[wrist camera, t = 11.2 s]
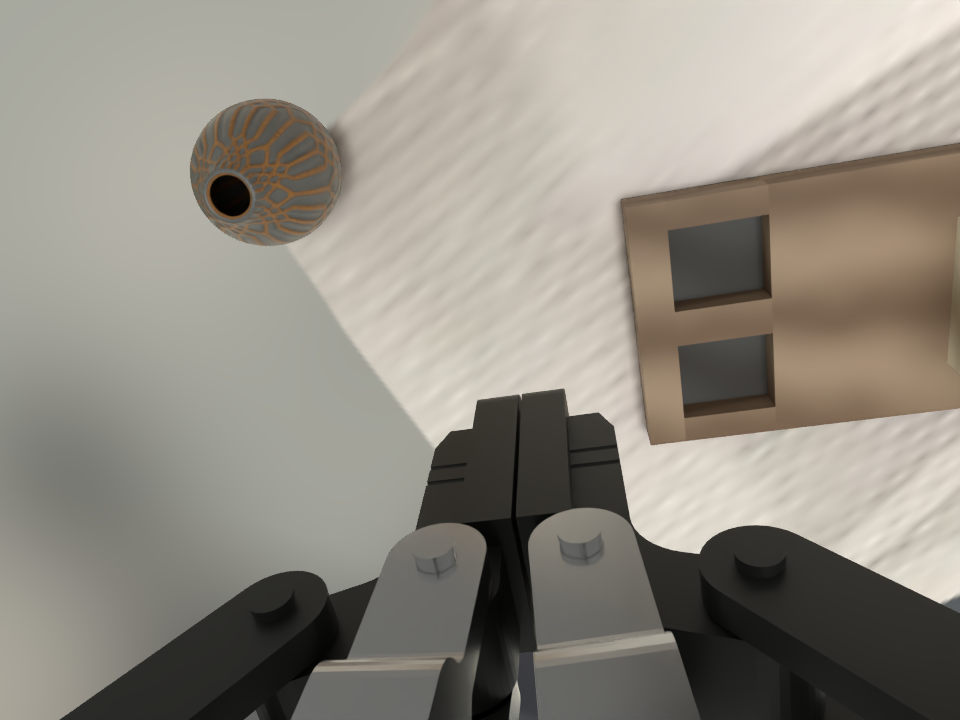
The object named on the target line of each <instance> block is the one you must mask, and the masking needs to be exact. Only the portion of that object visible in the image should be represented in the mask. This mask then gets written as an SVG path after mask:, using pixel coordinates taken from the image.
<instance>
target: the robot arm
mask: <svg viewBox="0 0 960 720" xmlns="http://www.w3.org/2000/svg"><path fill="white" fill-rule="evenodd" d="M427 482H428V486H426V490H425V493H424V497H423V502H422V506H421V510H420V514H419V518H418V522H417V526H416V530H415V531H414V532H412V533H410V534H409V535H407V536H405V537H404V538H402V539H401V540H400V541H399V542H398V543H397V544H396V545H395V546H394V547H393V548H392V549H391V551H390V552H389V554H388V556H387V558H386V560H385V563H384V566H383V568H382V571H381V573H380V576H379V577H378V578H376V579H374V580H372V581H369V582H367V583H364V584H361V585H358V586H355V587H352V588H349V589H346V590H343V591H340V592H337V593H334V594H331V595H329V593H328V590H327V587H326V584H325V582H324V581H323V580H322V579H321V578H320V577H318V576H317V575H315V574H313V573H309V572H305V571H291V572H290V571H289V572H284V573H279V574H275V575H272V576H270V577H267V578H264V579H262V580H260V581H258V582H256V583H254V584H253V585H251V586H250V587H248V588H246V589H245V590H244V591H242V592H241V593H239V594H238V595H236V596H235V597H234V598H233V599H231V600H229V601H228V602H227V603H225V604H224V605H222V606H221V607H219V608H218V609H217V610H215V611H214V612H212V613H211V614H209V615H208V616H207V617H205V618H204V619H202V620H201V621H200V622H198V623H197V624H195V625H194V626H192V627H191V628H190V629H188V630H187V631H185V632H184V633H182V634H181V635H180V636H178V637H177V638H175V639H174V640H172V641H171V642H170V643H168V644H167V645H165V646H164V647H163V648H161V649H160V650H158V651H157V652H155V653H154V654H153V655H151V656H150V657H148V658H147V659H146V660H144V661H143V662H141V663H140V664H138V665H137V666H135V667H134V668H133V669H131V670H130V671H128V672H127V673H126V674H124V675H123V676H121V677H120V678H118V679H117V680H116V681H114V682H113V683H112V684H110V685H108V686H107V687H106V688H104V689H103V690H101V691H100V692H98V693H97V694H96V695H94V696H93V697H92V698H90V699H89V700H87V701H86V702H84V703H83V704H81V705H80V706H79V707H77V708H76V709H74V710H73V711H72V712H70V713H69V714H67V715H66V716H64V717H63V718H62V719H60V720H244V719H245V718H246V717H248V716H249V715H250V714H251V713H252V712H254V711H255V710H256V712H257V715H258V717H259V719H260V720H518V717H519V709H520V693H519V688H518V684H517V678H518V671H519V653H522V652H534V670H535V682H536V694H537V706H538V718H539V720H960V613H958V612H956V611H954V610H952V609H950V608H948V607H946V606H944V605H941V604H939V603H937V602H935V601H933V600H931V599H929V598H927V597H925V596H923V595H921V594H919V593H917V592H915V591H913V590H911V589H908V588H906V587H904V586H902V585H900V584H898V583H896V582H894V581H892V580H890V579H888V578H886V577H884V576H882V575H880V574H878V573H875V572H873V571H871V570H869V569H867V568H865V567H863V566H861V565H859V564H857V563H855V562H853V561H851V560H849V559H847V558H845V557H842V556H840V555H838V554H836V553H834V552H832V551H830V550H828V549H826V548H824V547H822V546H820V545H818V544H816V543H814V542H812V541H809V540H807V539H805V538H803V537H801V536H799V535H797V534H795V533H792V532H790V531H787V530H784V529H780V528H776V527H770V526H759V525H754V526H741V527H736V528H732V529H728V530H726V531H723V532H721V533H719V534H717V535H715V536H714V537H712V538H711V539H710V540H709V541H707V542H706V544H705V545H704V546H703V548H702V550H701V552H700V554H694V553H686V552H679V551H673V550H669V549H666V548H662V547H660V546H657V545H655V544H653V543H651V542H649V541H648V540H646V539H645V538H643V537H642V536H641V535H640V534H639V533H638V532H637V531H636V530H635V529H634V527H633V525H632V523H631V520H630V516H629V510H628V504H627V499H626V493H625V487H624V482H623V476H622V470H621V465H620V459H619V453H618V448H617V442H616V436H615V430H614V426H613V425H612V424H610V423H609V422H608V421H607V420H606V419H605V418H604V417H603V416H602V415H601V414H600V413H592V414H584V415H576V416H569V413H568V407H567V401H566V395H565V390H564V389H557V390H549V391H541V392H534V393H526V394H522V401H521V397H520V395H512V396H505V397H497V398H490V399H482V400H478V401H477V405H476V411H475V417H474V423H473V429H467V430H459V431H451V432H450V433H449V434H448V435H447V436H446V438H445V439H444V440H443V441H442V442H441V443H440V444H439V445H438V446H437V448H436V449H435V452H434V456H433V460H432V465H431V471H430V473H429V477H428V481H427Z"/></svg>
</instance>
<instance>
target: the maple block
mask: <svg viewBox="0 0 960 720" xmlns="http://www.w3.org/2000/svg"><path fill="white" fill-rule="evenodd" d="M947 364H948V365H950V366H951V367H952V368H953V369H954V370H955V371H957V372H958V373H959V374H960V217H958V220H957V233H956V247H955V261H954V275H953V288H952V302H951V316H950V330H949V343H948V357H947Z"/></svg>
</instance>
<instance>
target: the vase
mask: <svg viewBox="0 0 960 720" xmlns="http://www.w3.org/2000/svg"><path fill="white" fill-rule="evenodd" d="M190 178H191V184H192V189H193V192H194V195H195V198H196V200H197V202H198V204H199V206H200V208H201V210H202V211H203V213H204V214H205V215H206V217H207V218H208V219H209V220H210V221H211V222H212V223H213V224H214V225H215V226H216V227H217V228H218V229H220V230H221V231H222V232H224V233H225V234H227V235H229V236H231V237H233V238H235V239H237V240H239V241H242V242H245V243H249V244H254V245H261V246H273V245H282V244H287V243H290V242H294V241H296V240H299V239H301V238H303V237H305V236H306V235H308V234H310V233H311V232H312V231H314V230H315V229H316V228H317V227H318V226H319V225H320V224H321V223H322V222H323V221H324V220H325V219H326V218H327V216H328V215H329V214H330V212H331V210H332V209H333V207H334V205H335V203H336V201H337V198H338V195H339V192H340V187H341V179H342V169H341V161H340V157H339V153H338V150H337V148H336V145H335V143H334V141H333V139H332V137H331V136H330V134H329V133H328V131H327V130H326V128H325V127H324V126H323V125H322V124H321V123H320V122H319V121H318V120H317V119H316V118H315V117H314V116H313V115H311V114H310V113H308V112H307V111H305V110H304V109H302V108H300V107H298V106H296V105H293V104H291V103H288V102H285V101H281V100H276V99H255V100H249V101H245V102H241V103H238V104H235V105H233V106H230V107H228V108H226V109H225V110H223V111H222V112H220V113H219V114H217V115H216V116H215V117H214V118H213V119H212V120H211V121H210V122H209V123H208V124H207V125H206V127H205V128H204V129H203V131H202V132H201V134H200V136H199V137H198V140H197V141H196V144H195V146H194V149H193V153H192V157H191V163H190Z"/></svg>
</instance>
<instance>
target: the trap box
mask: <svg viewBox="0 0 960 720" xmlns="http://www.w3.org/2000/svg"><path fill="white" fill-rule="evenodd" d="M621 204H622V213H623V222H624V231H625V240H626V248H627V257H628V266H629V275H630V284H631V293H632V302H633V311H634V320H635V329H636V338H637V347H638V356H639V365H640V374H641V383H642V392H643V401H644V410H645V419H646V428H647V432H648V436H649V440H650V444H651V445H657V444H665V443H674V442H682V441H690V440H699V439H707V438H715V437H724V436H732V435H740V434H749V433H757V432H765V431H774V430H782V429H790V428H799V427H807V426H815V425H824V424H832V423H840V422H849V421H857V420H865V419H874V418H882V417H890V416H899V415H907V414H915V413H924V412H932V411H940V410H949V409H957V408H960V374H959V373H958V372H957V371H955V370H954V369H953V368H952V367H951V366H950V365H948V364H947V357H948V343H949V330H950V316H951V302H952V288H953V275H954V261H955V247H956V233H957V220H958V217H960V143H956V144H950V145H944V146H938V147H932V148H926V149H920V150H914V151H908V152H902V153H896V154H890V155H884V156H878V157H872V158H866V159H860V160H854V161H848V162H842V163H836V164H830V165H824V166H818V167H812V168H806V169H800V170H794V171H788V172H782V173H776V174H770V175H764V176H758V177H752V178H746V179H740V180H734V181H728V182H722V183H716V184H710V185H704V186H698V187H692V188H686V189H680V190H674V191H668V192H662V193H656V194H650V195H644V196H638V197H632V198H626V199H621Z"/></svg>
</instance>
